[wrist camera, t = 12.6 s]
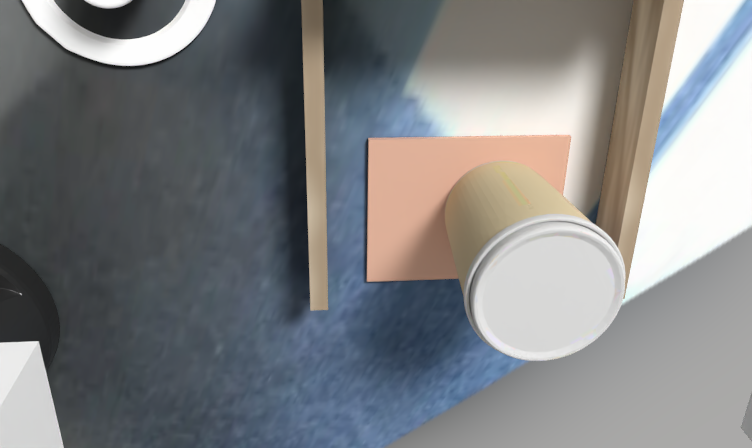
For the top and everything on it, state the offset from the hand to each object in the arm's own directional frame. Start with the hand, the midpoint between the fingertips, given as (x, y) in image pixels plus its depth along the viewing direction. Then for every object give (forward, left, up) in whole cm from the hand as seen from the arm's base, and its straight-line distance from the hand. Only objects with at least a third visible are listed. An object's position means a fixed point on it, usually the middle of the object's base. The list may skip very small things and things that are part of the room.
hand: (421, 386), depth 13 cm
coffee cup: (+11, -12, -34) cm, 38 cm away
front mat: (+9, -13, -35) cm, 38 cm away
